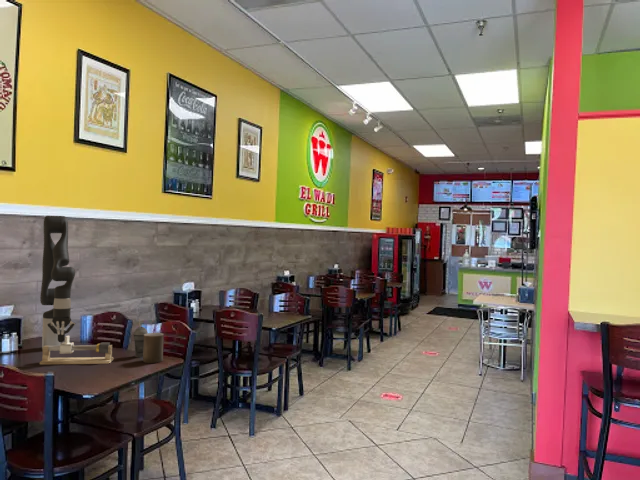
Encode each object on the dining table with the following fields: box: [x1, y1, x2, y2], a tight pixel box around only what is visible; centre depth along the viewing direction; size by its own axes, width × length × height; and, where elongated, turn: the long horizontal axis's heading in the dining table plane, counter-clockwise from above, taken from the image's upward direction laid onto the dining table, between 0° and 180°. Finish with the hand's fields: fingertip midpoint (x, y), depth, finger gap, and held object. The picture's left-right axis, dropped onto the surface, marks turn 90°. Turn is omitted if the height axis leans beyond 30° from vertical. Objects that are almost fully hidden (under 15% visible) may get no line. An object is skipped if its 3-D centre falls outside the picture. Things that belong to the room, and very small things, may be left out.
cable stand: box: [39, 341, 114, 365], centre depth 243 cm, size 8×32×9 cm, turn 101°
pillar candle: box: [142, 332, 164, 364], centre depth 249 cm, size 10×10×15 cm
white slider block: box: [59, 335, 75, 355], centre depth 242 cm, size 5×5×8 cm
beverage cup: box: [133, 318, 148, 358], centre depth 258 cm, size 7×7×20 cm
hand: (61, 341), depth 241 cm, fingers closed
